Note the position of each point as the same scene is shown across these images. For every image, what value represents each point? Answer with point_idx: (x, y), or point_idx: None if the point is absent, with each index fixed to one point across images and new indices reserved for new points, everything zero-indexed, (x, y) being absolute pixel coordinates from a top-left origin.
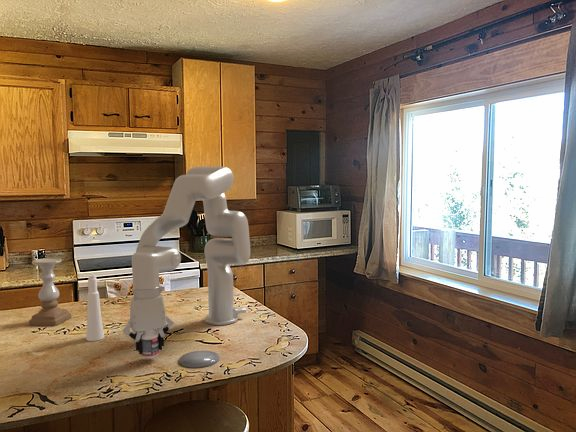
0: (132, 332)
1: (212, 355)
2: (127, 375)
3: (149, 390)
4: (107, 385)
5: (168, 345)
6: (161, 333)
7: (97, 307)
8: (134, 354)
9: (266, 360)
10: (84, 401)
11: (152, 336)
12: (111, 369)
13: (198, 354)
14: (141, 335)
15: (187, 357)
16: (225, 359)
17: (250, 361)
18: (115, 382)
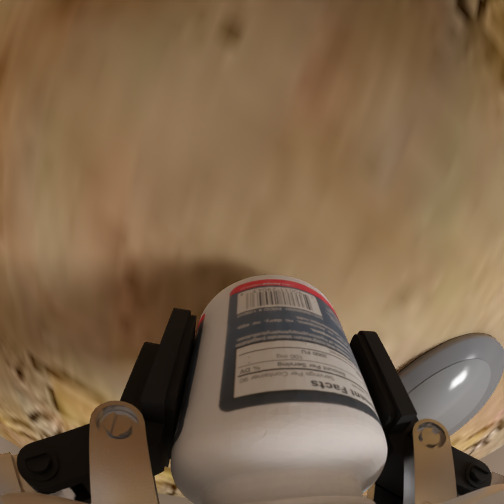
0: (57, 490)
1: (474, 404)
2: None
3: (175, 492)
4: (49, 417)
5: (468, 122)
6: (381, 501)
7: None
8: (195, 124)
9: (499, 437)
10: (19, 439)
11: None
12: (35, 302)
13: (462, 381)
14: (179, 485)
15: (417, 396)
16: (474, 417)
17: (484, 437)
18: (70, 418)
